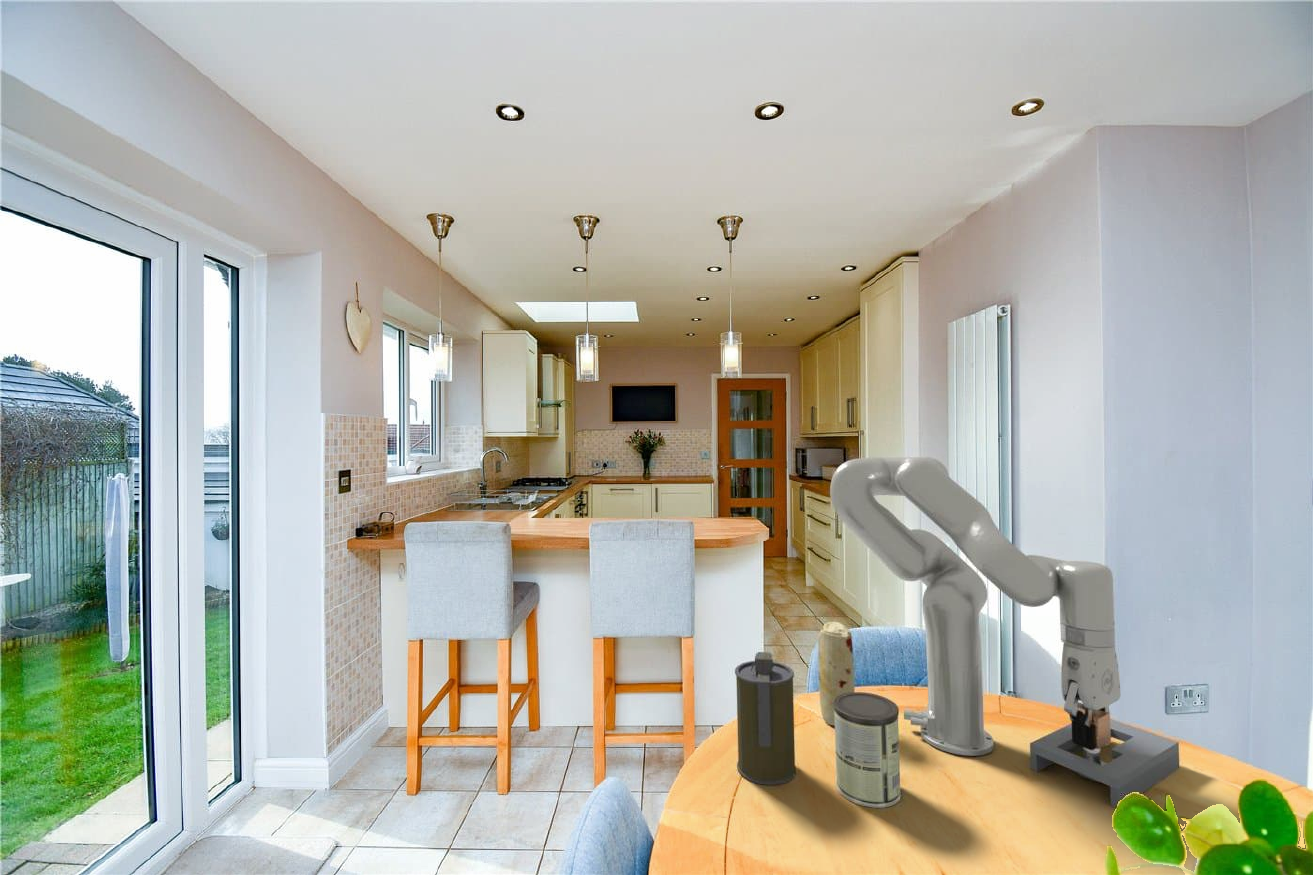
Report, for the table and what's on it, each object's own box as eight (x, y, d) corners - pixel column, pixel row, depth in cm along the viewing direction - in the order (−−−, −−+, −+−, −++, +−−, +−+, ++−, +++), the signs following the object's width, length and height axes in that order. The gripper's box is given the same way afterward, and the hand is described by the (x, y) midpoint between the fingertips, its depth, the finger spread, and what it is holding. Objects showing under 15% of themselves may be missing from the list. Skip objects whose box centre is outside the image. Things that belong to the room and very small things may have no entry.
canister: (738, 751, 110) (736, 644, 110) (795, 755, 107) (792, 647, 108) (734, 784, 99) (732, 666, 99) (797, 790, 97) (794, 669, 97)
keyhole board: (1118, 808, 90) (1117, 779, 90) (1030, 769, 101) (1029, 743, 102) (1179, 768, 101) (1178, 741, 101) (1093, 736, 112) (1093, 712, 112)
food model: (863, 731, 116) (860, 631, 116) (831, 733, 115) (828, 632, 116) (843, 709, 126) (841, 617, 126) (813, 711, 125) (811, 618, 125)
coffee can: (836, 768, 103) (834, 688, 103) (899, 777, 100) (896, 695, 100) (834, 802, 93) (832, 714, 94) (903, 814, 90) (901, 722, 90)
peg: (1102, 784, 95) (1099, 720, 96) (1068, 770, 100) (1066, 709, 100) (1116, 776, 98) (1114, 713, 98) (1083, 762, 102) (1081, 702, 102)
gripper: (1086, 650, 92) (1090, 767, 92) (1136, 632, 100) (1140, 739, 100) (1036, 637, 99) (1040, 746, 98) (1087, 621, 107) (1090, 721, 106)
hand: (1090, 741), depth 99 cm, fingers closed on peg, 4 cm apart
